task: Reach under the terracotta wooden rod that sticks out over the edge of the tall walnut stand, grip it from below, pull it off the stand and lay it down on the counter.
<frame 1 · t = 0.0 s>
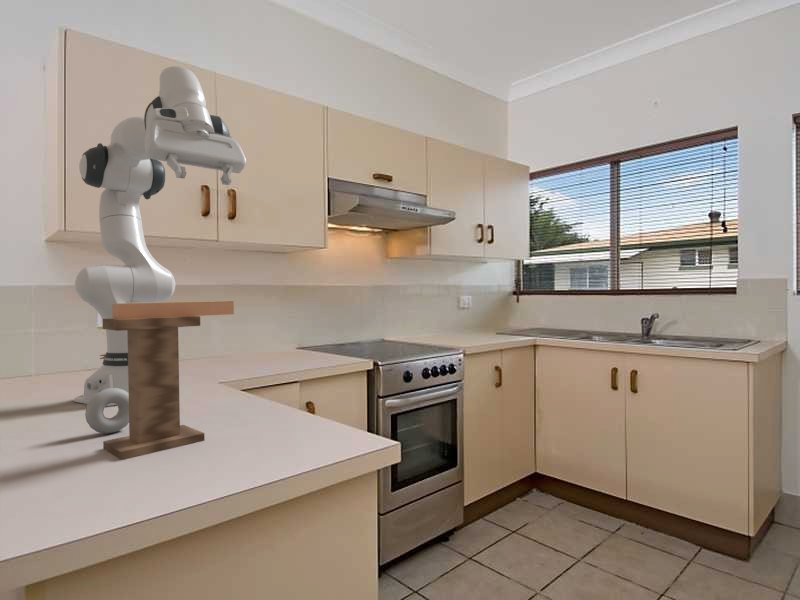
hand: (205, 179, 102), 54 cm above the worktop, tool tilted 30°, fingers open, 8 cm apart
donut: (111, 433, 110), on the worktop
stand: (155, 444, 101), on the worktop
rod: (177, 316, 104), point 26 cm above the worktop, touching stand
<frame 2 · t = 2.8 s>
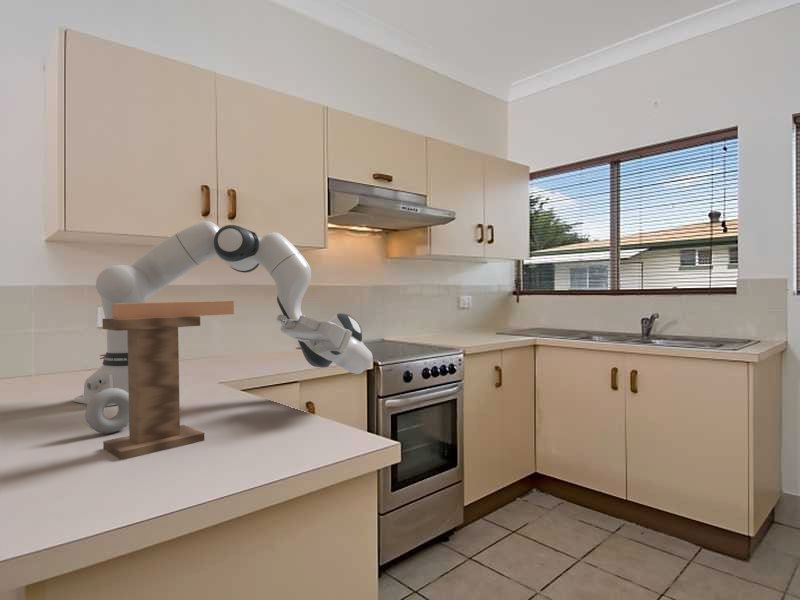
hand: (289, 317, 125), 24 cm above the worktop, tool pointing upward, fingers open, 8 cm apart
nothing on the worktop moved.
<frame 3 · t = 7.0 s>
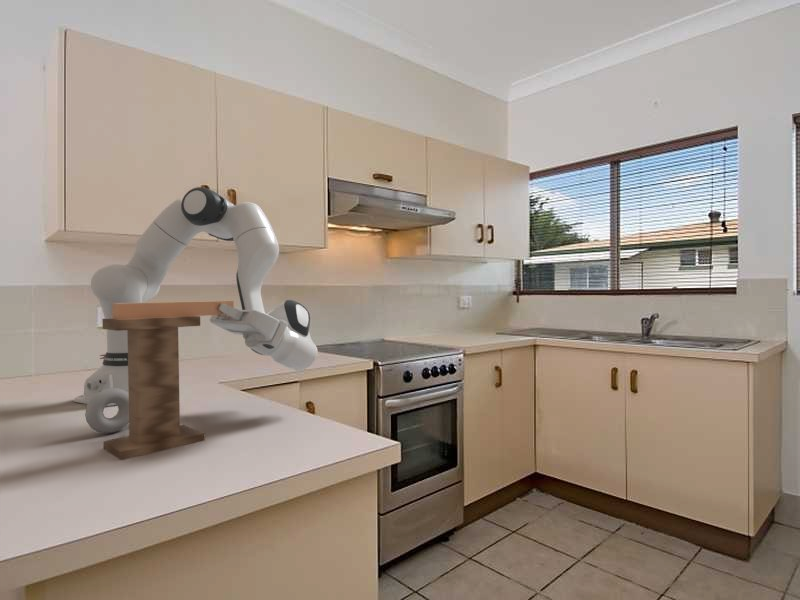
hand: (214, 306, 110), 28 cm above the worktop, tool pointing upward, fingers closed on rod, 3 cm apart
rod: (177, 316, 104), point 26 cm above the worktop, touching gripper, stand
everything else where it was.
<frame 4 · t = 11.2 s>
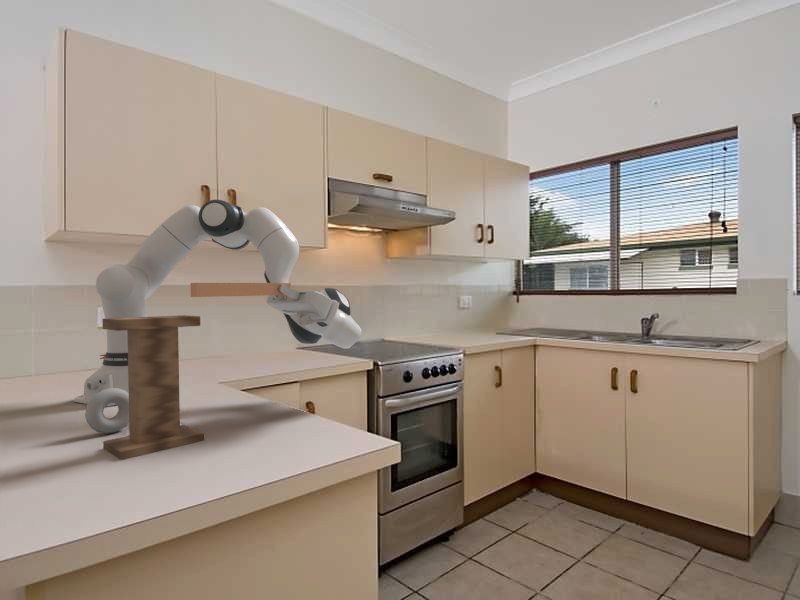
hand: (274, 287, 122), 32 cm above the worktop, tool pointing upward, fingers closed on rod, 3 cm apart
rod: (244, 295, 116), point 30 cm above the worktop, touching gripper
everything else where it was.
when the fingers open (13 cm above the worktop, at t = 15.5 s): rod drops 7 cm, on the worktop.
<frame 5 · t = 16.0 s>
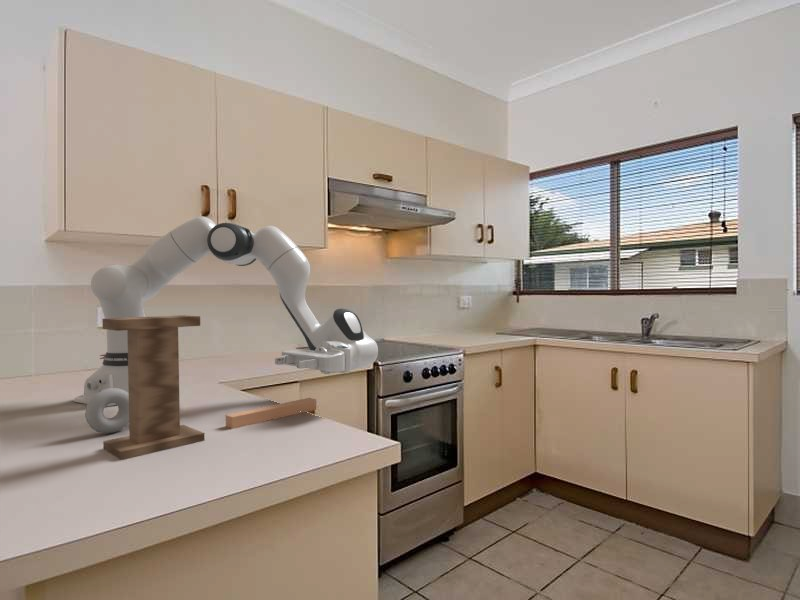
hand: (287, 363, 124), 13 cm above the worktop, tool horizontal, fingers open, 8 cm apart
rod: (274, 418, 122), on the worktop
everything else where it was.
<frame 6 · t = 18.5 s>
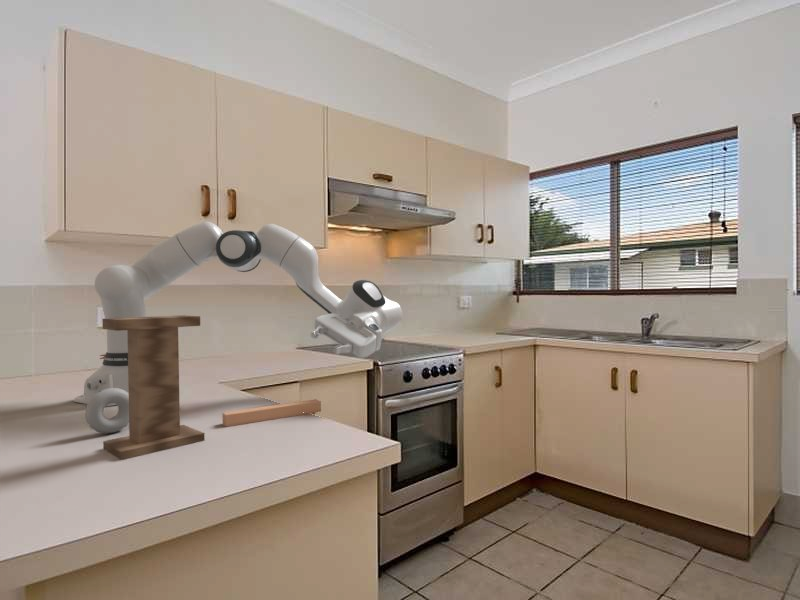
hand: (323, 343, 134), 17 cm above the worktop, tool horizontal, fingers open, 8 cm apart
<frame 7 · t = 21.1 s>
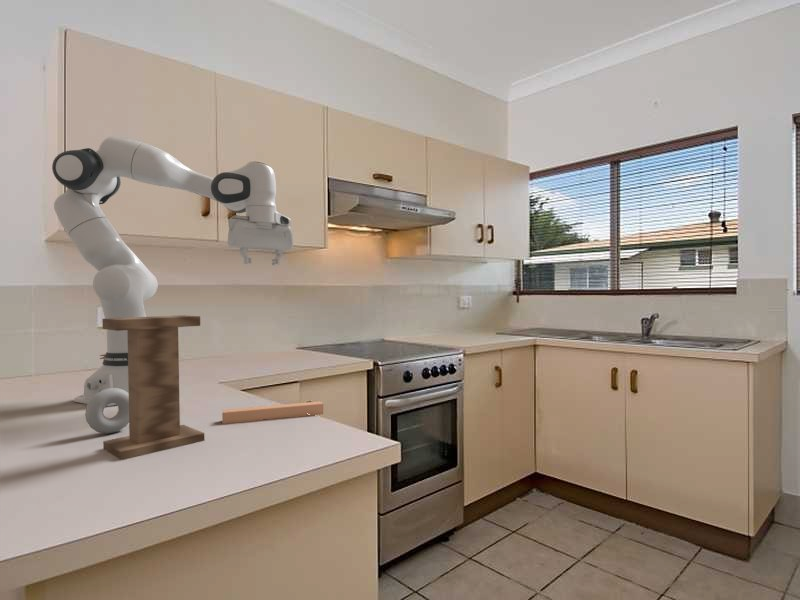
hand: (261, 264, 147), 39 cm above the worktop, tool pointing down, fingers open, 8 cm apart
at the end: rod on the worktop; the gripper is holding nothing; rod inside the target area (1.9 cm from its centre), on the worktop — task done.
